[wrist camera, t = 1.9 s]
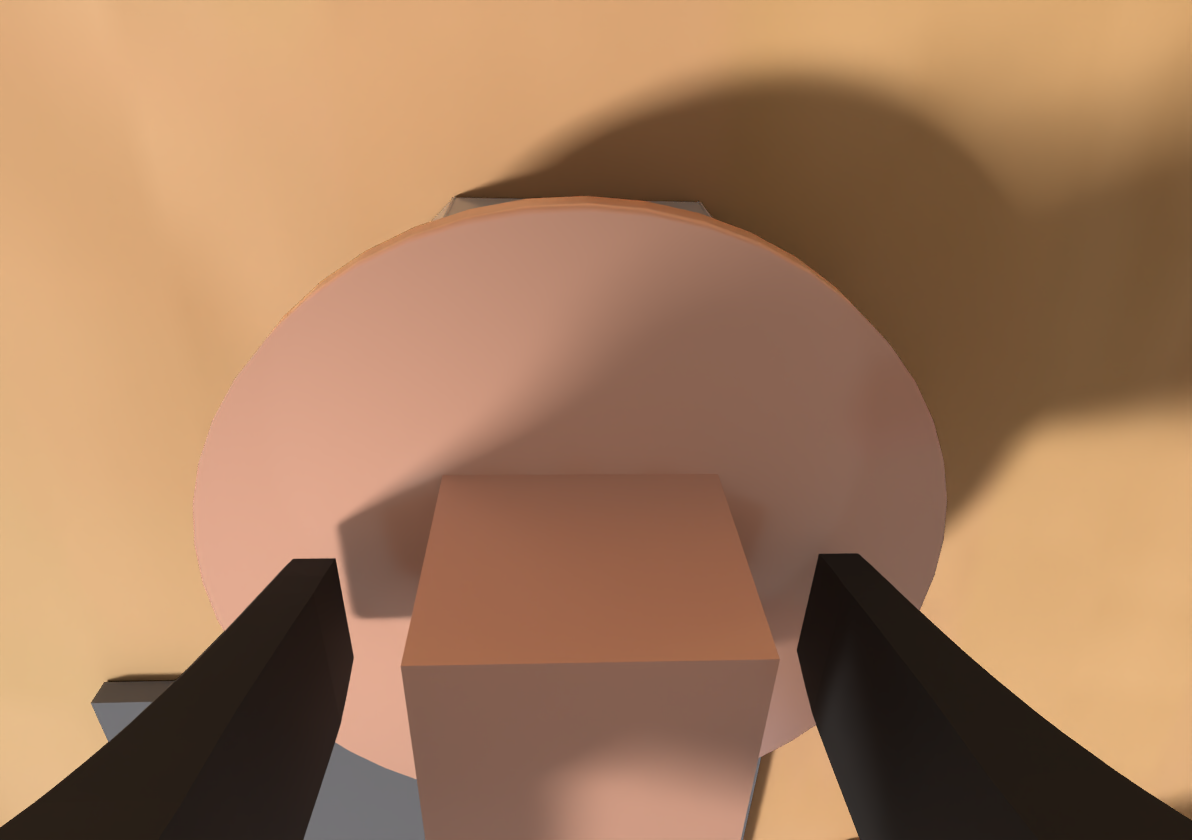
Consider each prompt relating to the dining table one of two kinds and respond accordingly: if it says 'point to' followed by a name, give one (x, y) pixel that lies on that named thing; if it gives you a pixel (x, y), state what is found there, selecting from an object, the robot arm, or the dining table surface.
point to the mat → (348, 792)
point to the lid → (572, 505)
